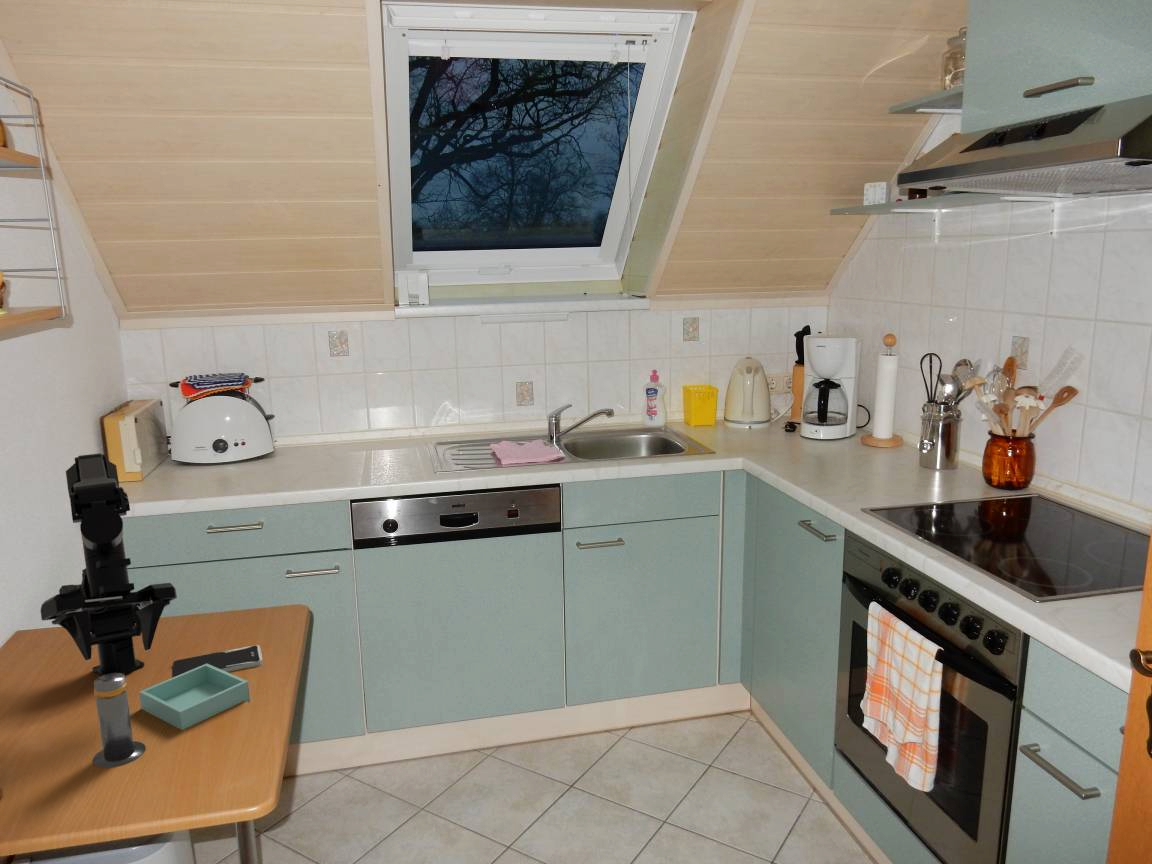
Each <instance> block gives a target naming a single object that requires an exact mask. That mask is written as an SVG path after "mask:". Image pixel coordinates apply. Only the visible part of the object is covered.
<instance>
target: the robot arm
mask: <svg viewBox="0 0 1152 864" xmlns="http://www.w3.org/2000/svg"><path fill="white" fill-rule="evenodd" d="M65 477H66V483H67V490H68V491H67V492H68V496H69V501H70V502H69V503H70V511H71V518H72V523H73V524H76V523H77V524H78V523H80V525H79V526H80V527H79V529H80V534H81V540H82V550H83V555H84V562H85V568H84V569H82V573H81V576H82V577H81V583H80V584H66V585H65V584H64V585H61V587H60V588H59V589H58V593H57V594H56V595H53V596H52V597H50V598H48V599H47V600H44V602H43V603H42V604H41V607H40V616H41V617H40V618H41V621H51V624H52V625H53V626H54V625H59V626H61V628H64V630H66V631H67V632H68V634H69V635H70V636H71V638H72V640H73V641H74V643H75V644H76V646H77V648H78V649H79V651H80V653H81V655H82V656H83V658H84V660H85V661H89V660H91V659H92V646H96V647H97V652H98V660H99V664H98V665H96V666H93V667H92V669H91V670H92V672H94V673H96V674H97V675H100V676H103V675H106V674H111V673H122V674H124V675H125V674H127V673H129V672H132V671H135V670H137V669H140V668H143V667H144V666H145V662H144V661H142V660H140V659H137V658H136V653H135V645H134V637H142V639H141V640H142V645H143V648H144V650H145V651H149V650H150V649H151V647H152V644H153V641H154V638H155V634H156V630H157V628H158V624H159V620H161V619H160V618H161V616H162V614H163V612H164V608H166V607H168V606H169V605H171V602H172V601H174V600H176V599H177V598H178V597H177V591H176V589H177V588H175V586H174V585H173V584H172V583H171V582H164V583H153V584H149V585H148V586H145V587H143V588H141V589H140V590H139V589H138V591H134V590H135V582H130V579H129V572H128V571H129V570H128V566H130V565H131V564H132V561H131V558H130V557H128V558H127V557H126V552H125V551H126V550H125V543H124V538H123V537H124V522H123V518H122V517H124V516H127V514H128V513H127V512H129V511H131V508H130V506H131V505H130V500H129V496H128V493H127V492H126V491H124V490H125V489H124V488H123V487H122V486H120V482H119V475H118V468H117V465H116V464H115V463H114V462H111V461H109V460H107V456H106V454H105V453H104V454H103V453H101V452H100V453H92V454H91V453H90V454H83V455H82V454H80V455H78V456H76V457H74V463H73V464H72V465H71V466H70V467H69V468H67V470H65Z"/></svg>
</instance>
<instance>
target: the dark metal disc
mask: <svg viewBox="0 0 1152 864" xmlns="http://www.w3.org/2000/svg"><path fill="white" fill-rule="evenodd" d="M133 742H134V750H135V751H134V753H133V754H132V755H131V756H130V757H128V758H126V759H124V760H120V761H115V762H109V761H106V760H105V759H104V753H103V749H101V750H100V751H98V752H97V753H96V754H95V755H94V757H93V758H92V763H93V765H94V766H95V767H97V768H102V769H110V768H111V769H113V768H117V767H121V766H124V765H127V764H130V763H132V762H135V761H136V760H137V759H139V758H141V757H142V756H143V754H144V753H145V752H146V749H147V748H146V745H145V744H144V743H143V742H141V741H134V740H133Z"/></svg>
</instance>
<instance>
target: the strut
mask: <svg viewBox="0 0 1152 864" xmlns="http://www.w3.org/2000/svg"><path fill="white" fill-rule="evenodd" d="M93 687H94V688H93V691H94V692H93V693H94V697H95V701H96V707H97V709H96V710H97V715H98V721H99V722H98V723H99V724H98V725H99V731H100V736H101V737H100V738H101V744H102V745H101V746H102V750H103V753H104V759H105V760H106V761H109V762H115V761H120V760H124V759H126V758H128V757H130V756H131V755H132V754H133V753H134V751H135V750H134V742H133V741H134V735H133V729H132V728H133V727H132V722H131V714H130V713H131V712H130V706H129V697H128V684H127V680H126V675H125V674H122V673H111V674H106V675H103V676H102V675H100V676H99V677H97V678H96V679H95V680H94V681H93Z"/></svg>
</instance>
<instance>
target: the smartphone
mask: <svg viewBox="0 0 1152 864" xmlns="http://www.w3.org/2000/svg"><path fill="white" fill-rule="evenodd" d="M204 664H209V665H212V666H214V667H216V668H218V669H221V670H223V671H225V672H228V673H230V672H233V671H239V669H240V670H244V668H245V669H249V668H254V667H259V665H260V666H262V665H263V664H264V661H263V655H262V650H261V646H260V645H258V644H256V645H255V644H254V645H251V646H250V645H249V646H244V647H240V648H239V647H238V648H234V649H229V650H223V651H218V652H213V653H207V654H203V655H198V656H192V657H185V658H182V659H181V658H180V659H176V660H174V661H173V663H172V678H173V677H176V676H178V675H180V674H183V673H185V672H188V671H190V670H192V669H195V668H197V667H200V666H202V665H204Z"/></svg>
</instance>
